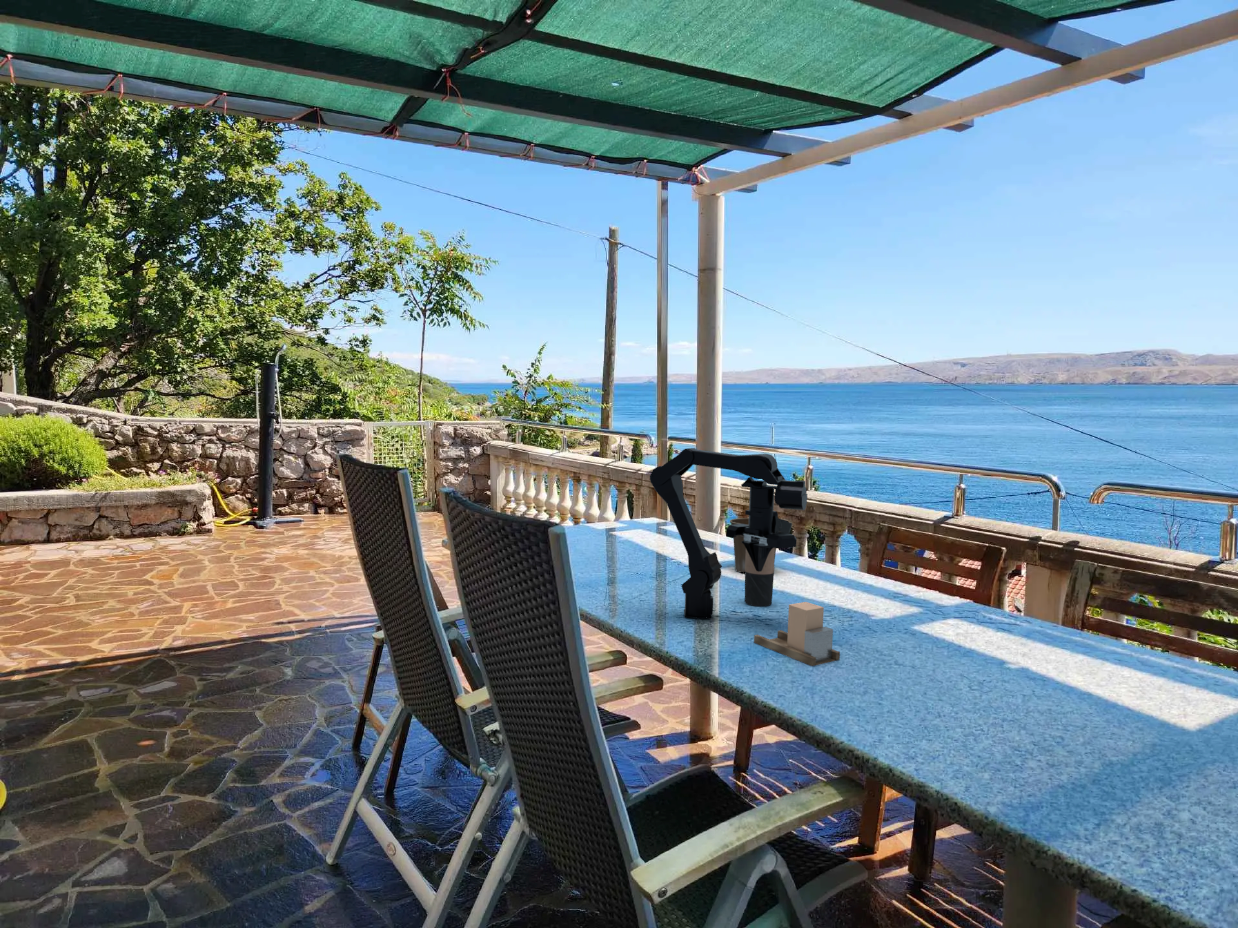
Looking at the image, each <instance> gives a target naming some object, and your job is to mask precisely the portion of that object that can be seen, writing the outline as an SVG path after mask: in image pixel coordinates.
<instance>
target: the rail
mask: <svg viewBox="0 0 1238 928" xmlns="http://www.w3.org/2000/svg"><path fill="white" fill-rule="evenodd" d="M787 638H788V631H784V630H782V629H781V630H777V637H776V638H766V637H765V636H762V635H759V634H755V635H753V643H754V644H756V645H758V646H761V647H764V648H766V649H768V650H772V651H773V652H775V653H779V654H780V655H783V656H786V657H788V658H790V659H792V660H795V661H798V662H800V663H802V664H805V665H808V666H810V667H815V666H819V665H823V664H828V663H832V662H835V661H840V657H841V652H840V651H838V650H835V649H834V648H832V659H828V660H824V661H819V662H816V657H813V656H811V655H808V654H806V653H803V652H801V651H798V650H796V649H793V648H790V647H788V646H787Z"/></svg>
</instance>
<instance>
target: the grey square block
mask: <svg viewBox="0 0 1238 928" xmlns="http://www.w3.org/2000/svg"><path fill="white" fill-rule="evenodd" d="M833 637H834V629H833V628H831V627H828V626H823V627H822V628H817V629H812V630H807V631H805V643H804V653H806V654H808V655H811V656H813V657H816V662H819V661H824V660H828V659H832V649H833V642H834V641H833V640H834V639H833Z"/></svg>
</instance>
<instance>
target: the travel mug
mask: <svg viewBox="0 0 1238 928" xmlns="http://www.w3.org/2000/svg"><path fill="white" fill-rule="evenodd" d="M772 534H774V533H772ZM763 537H765V536H763ZM774 555H775V556H776V554H775V548H773V549H772V550H771V551H770V553H769V555H768V557H767V559H766V562H765V564H764V567H763V569H762V571H761V572H758V571H756V569H755V567H754V565H753V562H752V560H751V557H750V555H749V553H748V551H747V550H746V557H745V573H744V603H745V605H748V606H753V607H757V608H758V607H761V608H762V607H769V606H772V603H773V590H774V589H773V588H774V577H775V575H774V574H775V562H774Z"/></svg>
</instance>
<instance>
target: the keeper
mask: <svg viewBox="0 0 1238 928" xmlns="http://www.w3.org/2000/svg"><path fill="white" fill-rule="evenodd" d="M824 608H825V607H824V606H820V605H817V604H815V603H814V604H813V603H811V602H808V601H802V602H798V603H797V602H796V603H791V604H788V615H787V616H788V618H787V619H788V620H787V633H788V638H787V646H788V647H790V648H793V649H796V650H798V651H801V652H803V653H804V643H805V631H807V630H812V629H817V628H822V627H824V612H825V611H824V610H825V609H824Z"/></svg>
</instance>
